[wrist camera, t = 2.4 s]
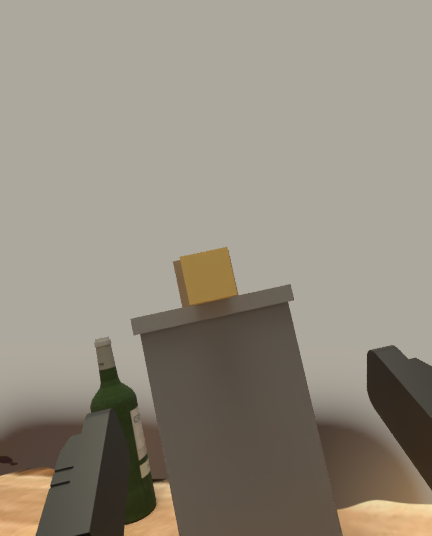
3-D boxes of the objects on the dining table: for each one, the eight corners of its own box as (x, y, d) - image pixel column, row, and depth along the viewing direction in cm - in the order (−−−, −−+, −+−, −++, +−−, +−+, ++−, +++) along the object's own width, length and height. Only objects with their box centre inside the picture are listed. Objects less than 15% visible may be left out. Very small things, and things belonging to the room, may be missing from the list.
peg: (258, 290, 24) (241, 216, 25) (168, 309, 24) (153, 234, 25) (234, 297, 45) (225, 257, 46) (185, 307, 45) (177, 267, 45)
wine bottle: (164, 506, 63) (131, 331, 66) (121, 531, 58) (87, 342, 61) (144, 493, 70) (114, 334, 72) (103, 515, 65) (73, 344, 67)
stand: (377, 653, 32) (290, 284, 34) (204, 699, 31) (130, 319, 34) (317, 531, 48) (262, 291, 51) (204, 560, 48) (155, 314, 51)
